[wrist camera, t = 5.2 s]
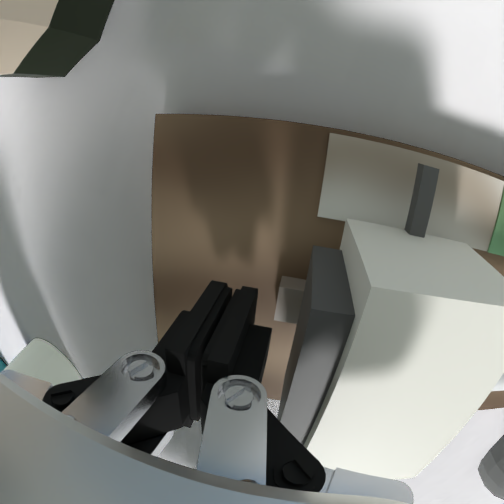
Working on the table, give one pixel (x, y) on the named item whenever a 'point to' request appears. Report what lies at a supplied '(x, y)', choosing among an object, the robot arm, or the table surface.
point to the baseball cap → (494, 469)
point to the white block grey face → (393, 344)
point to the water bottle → (44, 363)
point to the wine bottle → (48, 35)
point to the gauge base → (291, 211)
